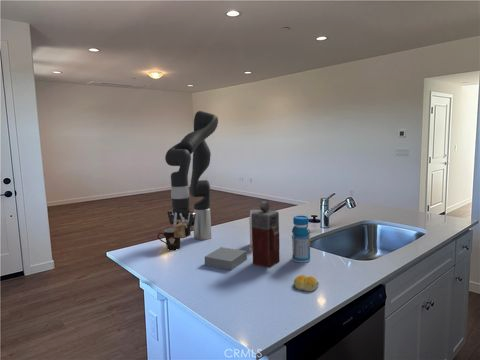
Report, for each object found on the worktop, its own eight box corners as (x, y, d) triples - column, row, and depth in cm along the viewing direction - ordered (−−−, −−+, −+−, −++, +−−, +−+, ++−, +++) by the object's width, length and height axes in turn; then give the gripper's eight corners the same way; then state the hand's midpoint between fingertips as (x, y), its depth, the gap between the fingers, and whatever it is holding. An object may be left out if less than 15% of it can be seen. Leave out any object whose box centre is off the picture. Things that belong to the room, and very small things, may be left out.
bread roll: (298, 280, 129) (298, 270, 129) (320, 285, 125) (320, 275, 124) (289, 288, 122) (289, 278, 122) (312, 294, 118) (312, 283, 117)
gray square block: (204, 265, 148) (204, 256, 147) (221, 255, 160) (221, 247, 159) (231, 270, 141) (231, 261, 140) (246, 259, 153) (246, 251, 152)
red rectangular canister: (274, 269, 141) (272, 205, 137) (252, 263, 147) (250, 202, 144) (284, 262, 148) (283, 201, 144) (263, 257, 154) (261, 199, 151)
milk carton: (263, 247, 168) (262, 211, 165) (250, 247, 169) (249, 211, 167) (265, 243, 175) (264, 208, 172) (252, 243, 176) (251, 208, 174)
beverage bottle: (299, 264, 145) (299, 220, 142) (288, 258, 152) (287, 216, 150) (314, 260, 148) (314, 217, 146) (302, 255, 156) (302, 213, 153)
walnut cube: (174, 237, 140) (173, 225, 140) (181, 233, 145) (181, 222, 144) (183, 238, 138) (182, 227, 137) (190, 235, 142) (190, 224, 141)
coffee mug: (185, 246, 174) (184, 228, 173) (175, 252, 166) (174, 233, 165) (167, 244, 179) (166, 226, 178) (157, 249, 171) (155, 230, 170)
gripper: (161, 196, 139) (163, 235, 141) (188, 199, 132) (190, 239, 134) (173, 193, 146) (175, 231, 148) (199, 195, 139) (201, 234, 141)
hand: (182, 235), depth 141 cm, fingers closed on walnut cube, 5 cm apart
